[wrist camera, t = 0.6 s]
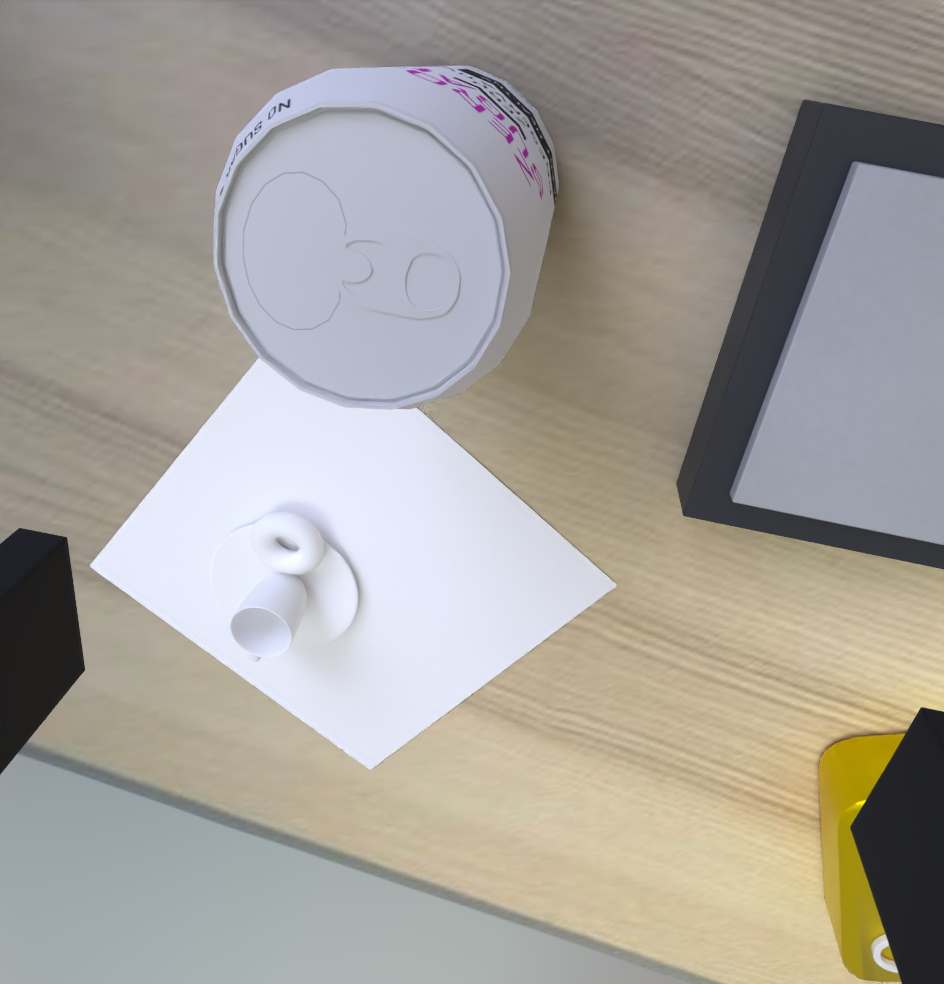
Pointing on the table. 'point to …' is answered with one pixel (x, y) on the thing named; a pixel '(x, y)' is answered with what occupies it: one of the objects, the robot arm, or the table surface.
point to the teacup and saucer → (346, 562)
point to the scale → (836, 349)
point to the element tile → (853, 853)
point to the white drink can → (386, 231)
